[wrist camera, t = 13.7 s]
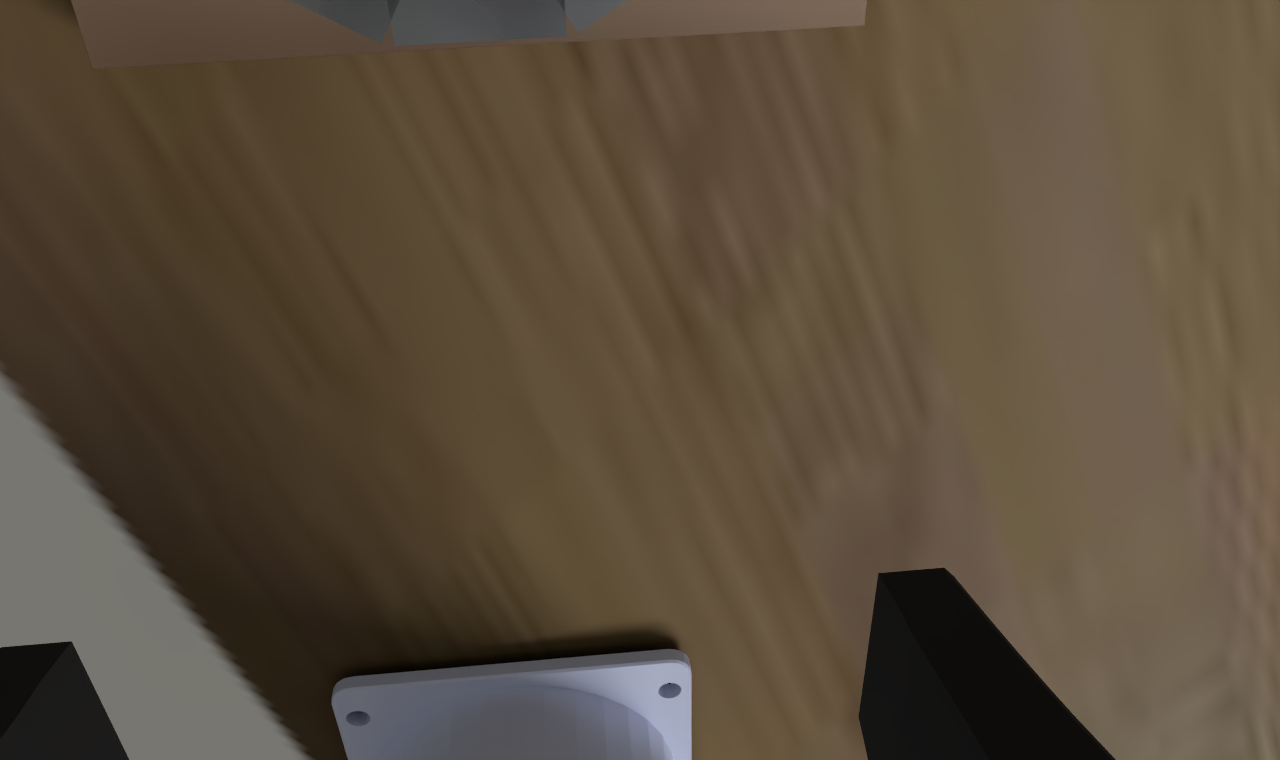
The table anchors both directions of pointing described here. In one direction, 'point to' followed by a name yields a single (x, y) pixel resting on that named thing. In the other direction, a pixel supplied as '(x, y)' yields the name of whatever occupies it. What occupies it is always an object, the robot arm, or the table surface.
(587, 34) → the socket board
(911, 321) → the table surface
